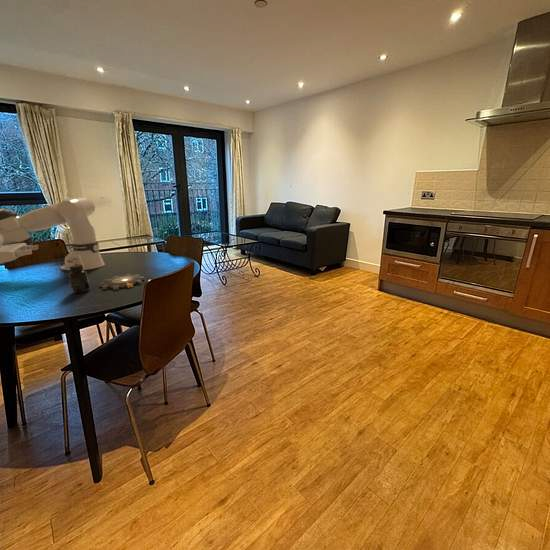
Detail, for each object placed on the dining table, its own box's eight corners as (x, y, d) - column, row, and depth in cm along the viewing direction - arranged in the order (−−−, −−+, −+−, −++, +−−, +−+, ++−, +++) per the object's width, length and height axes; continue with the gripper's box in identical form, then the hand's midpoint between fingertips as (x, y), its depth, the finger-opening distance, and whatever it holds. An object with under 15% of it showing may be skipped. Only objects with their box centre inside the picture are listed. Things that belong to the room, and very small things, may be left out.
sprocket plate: (91, 289, 136) (90, 285, 135) (117, 276, 154) (116, 273, 153) (129, 290, 133) (128, 287, 133) (151, 277, 151) (151, 274, 150)
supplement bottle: (94, 289, 136) (88, 264, 132) (80, 294, 130) (74, 268, 126) (83, 288, 138) (77, 263, 134) (69, 293, 132) (62, 267, 128)
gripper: (3, 256, 126) (43, 252, 131) (-17, 268, 108) (30, 262, 114) (-2, 241, 124) (39, 237, 130) (-23, 251, 106) (25, 246, 112)
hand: (34, 249), depth 122 cm, fingers open, 8 cm apart
